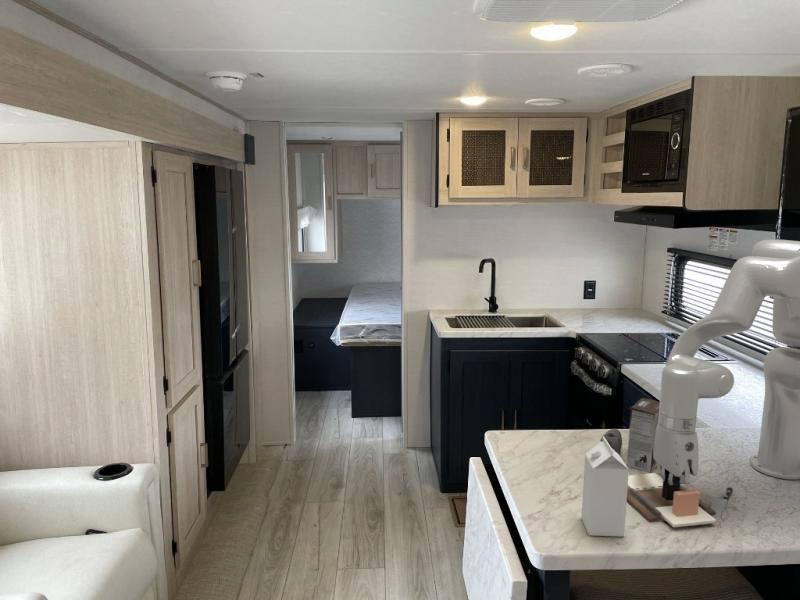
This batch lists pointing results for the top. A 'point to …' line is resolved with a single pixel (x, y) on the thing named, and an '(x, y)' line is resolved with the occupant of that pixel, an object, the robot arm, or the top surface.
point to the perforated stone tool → (613, 439)
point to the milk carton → (604, 491)
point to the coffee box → (642, 434)
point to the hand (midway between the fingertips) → (670, 498)
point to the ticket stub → (685, 510)
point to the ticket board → (652, 496)
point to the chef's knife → (720, 504)
